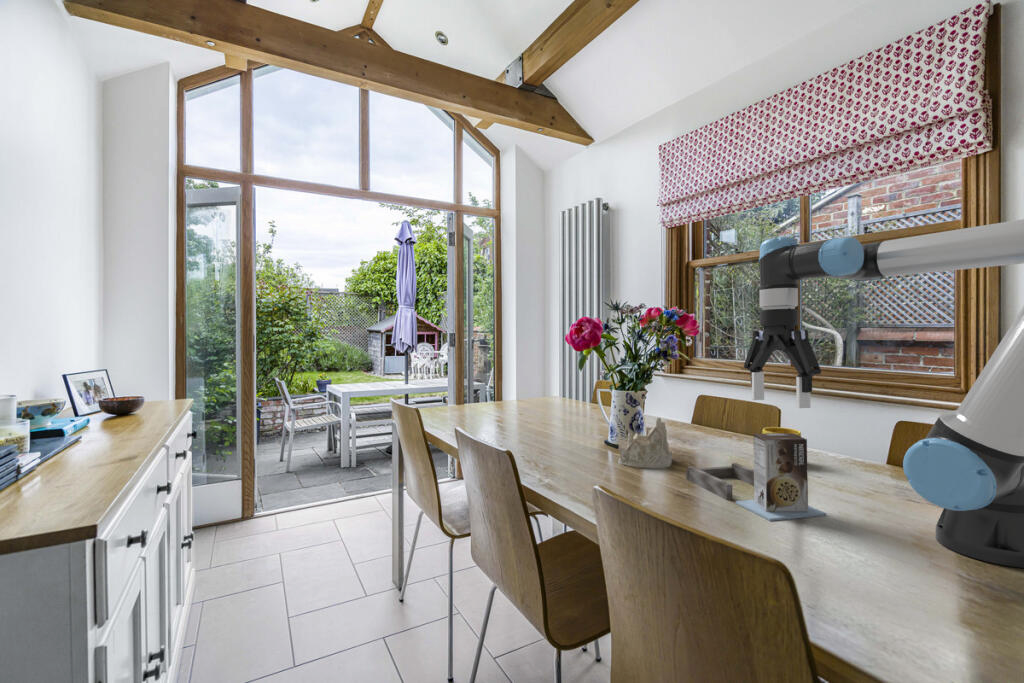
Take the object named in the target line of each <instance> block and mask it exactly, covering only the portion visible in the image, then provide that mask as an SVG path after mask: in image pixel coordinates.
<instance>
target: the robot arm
mask: <svg viewBox="0 0 1024 683" xmlns="http://www.w3.org/2000/svg"><path fill="white" fill-rule="evenodd" d="M798 242H799V241H798V240H797V239H796V237H790V236H787V237H786V236H785V237H777V238H776V237H774V238H769V239H765V240H764V241H762V242H761V244H760V246H759V258H758V264H759V308H761V310H760V311H759V326H761V327H763V330H753V331H752V339H751V340H752V341H751V343H750V346H749V350H748V351H747V352H748V353H747V354H746V358H745V362H744V363H743V368H744V369H745V370H748V371H749V372H750V384H751V400H752V401H763V400H765V372H764V369H763V368H764V367H765V365H766V364H767V362H768V360H769V359H770V357H771V355H772V354H773V353H774V352H776V351H781V352H783V353H785V354H786V356H787V357H788V358H787V359H789V361H790V362H791V364H792V365H793V367H794V368H795V370H796V371H797V373H798V375H796V377H795V378H796V380H795V381H796V382H795V383H796V384H795V386H796V387H795V388H796V394H795V395H796V398H795V400H796V408H797V409H809V408H811V393H812V391H813V377H814V376H816V375H821V373H822V370H821V367H820V365H819V362H818V359H817V357H816V355H815V353H814V349H813V348H812V344H811V342H810V338H809V332H808V330H807V329H796V326H798V324H799V310H798V308H797V307H798V306H799V291H798V290H799V281H800V280H801V281H802V280H811V279H821V278H827V279H829V278H830V279H839V280H841V279H842V280H851V281H856V282H868V281H873V280H876V279H881V278H888V277H896V276H908V275H909V276H910V275H920V274H929V273H930V274H931V273H939V272H948V271H949V272H950V271H960V270H969V269H970V270H972V269H979V268H980V269H981V268H982V269H983V268H990V267H991V268H993V267H1001V266H1010V265H1020V264H1021V265H1023V264H1024V218H1023V219H1016V220H1010V221H1009V220H1008V221H1004V222H997V223H991V224H984V225H979V226H972V227H965V228H960V229H959V228H958V229H952V230H946V231H940V232H935V233H934V232H933V233H928V234H921V235H916V236H915V235H914V236H909V237H902V238H896V239H889V240H884V241H877V242H869V243H863V244H862V243H861V242H860V241H859V239H857V237H854V236H845V237H844V236H843V237H832V238H829V239H824V240H820V241H819V240H818V241H815V242H808V243H801V244H799V243H798ZM925 436H926V437H925V438H923V439H920V440H918V441H917V442H915V443H913V445H912V446H910V447H909V448H908V449H907V451H906V452H905V454H904V456H903V461H902V469H903V473H904V476H905V477H906V480H907V481H908V483H909V485H910V487H911V488H912V489H913V490H914V491H915V493H917V494H918V495H919V496H920V497H922V498H923V499H924V500H926V501H927V502H929V503H931V504H932V505H934V506H937V507H939V508H942V511H941V513H940V516H939V518H938V521H937V523H936V524H935V539H936V541H937V542H938V543H939V544H940V545H942V546H944V547H945V548H947V549H950V550H952V551H953V552H956V553H958V554H961V555H964V556H967V557H969V558H973V559H977V560H979V561H983V562H987V563H992V564H996V565H1001V566H1005V567H1006V566H1008V567H1013V568H1021V569H1024V305H1023V306H1022V308H1021V309H1020V311H1019V312H1018V315H1017V316H1016V318H1015V319H1014V320H1013V322H1012V323H1011V325H1010V327H1009V328H1008V330H1007V331H1006V333H1005V334H1004V336H1003V337H1002V339H1001V341H1000V342H999V343H998V345H997V347H996V348H995V350H994V351H993V353H992V354H991V356H990V358H989V359H988V360H987V363H986V364H985V365H984V367H983V369H982V370H981V372H980V373H979V375H978V376H977V378H976V380H975V381H974V382H973V385H972V386H971V387H970V389H969V390H968V392H967V394H966V396H965V397H964V399H963V400H962V401H961V403H960V404H959V406H958V408H957V409H954V410H951V411H946V412H941V413H940V415H939V416H938V418H937V419H936V420H935V423H934V424H933V426H932V427H931V428H930V430H929V432H928V434H926V435H925Z"/></svg>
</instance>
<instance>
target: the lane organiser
mask: <svg viewBox="0 0 1024 683" xmlns="http://www.w3.org/2000/svg"><path fill="white" fill-rule="evenodd" d="M732 476H734V477H733V478H735V477H736V478H735V479H738V480H740V481H742V482H745V483H747V484H749V485H752V486H753V485H754V468H750V467H748V466H746V465H742V464H740V463H737V462H734V463H731V465H729V466H715V467H713V466H712V467H704V468H703V467H701V468H697V467H695V466H694V465H691V466H687V468H686V469H685V479H686V480H688V481H690V482H691V483H693V484H696V485H697V486H700V488H704V489H705V490H707V491H709V492H711V493H713V494H715V495H717V496H718V497H721V498H723V499H724V500H727V501H729V500H733V484H732V483H730V482H727V481H725V480H724V479H721V478H720V477H723V478H732Z"/></svg>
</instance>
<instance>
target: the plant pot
mask: <svg viewBox="0 0 1024 683" xmlns="http://www.w3.org/2000/svg"><path fill="white" fill-rule="evenodd" d="M765 433H793V434H796V435H799V436H801V437H802V432H801V431H800V430H797V429H794V428H790V427H789V428H788V427H779V426H770V427H769V426H768V427H764V428H762V433H761V434H765Z"/></svg>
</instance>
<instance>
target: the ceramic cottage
mask: <svg viewBox="0 0 1024 683" xmlns="http://www.w3.org/2000/svg"><path fill="white" fill-rule="evenodd" d="M645 429H646V433H645V435H640V434H639V433H638V432H636V433H635V434H633V433H628V436H627V438H623V437H621V438H619V440H618V441H619V442H618V450H617V451H618V452H619V456H620V457H619V459H618V462H617V463H618V465H621V466H622V465H623V466H626V467H633V468H639V469H640V468H642V469H665V468H668V467H671V466H672V463H673V457H672V456H673V455H672V454H673V453H672V452H671V451H670V447H669V446H670V445H669V442H668V433H667V428H666V421H664V420H662V418H661V417H657V419H656V421H655V424H654V425H653V426H652V427H650V426H647V427H645Z"/></svg>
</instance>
